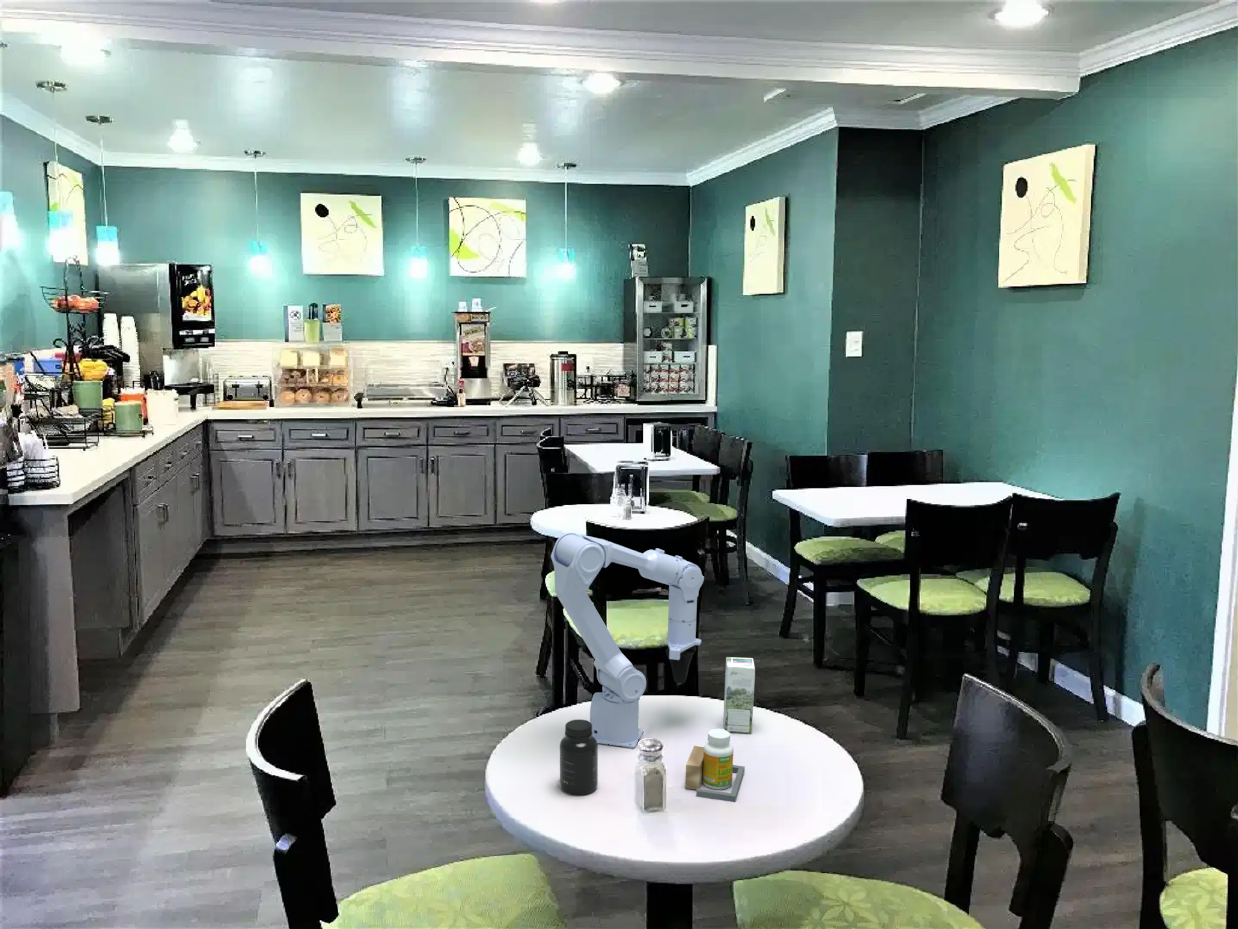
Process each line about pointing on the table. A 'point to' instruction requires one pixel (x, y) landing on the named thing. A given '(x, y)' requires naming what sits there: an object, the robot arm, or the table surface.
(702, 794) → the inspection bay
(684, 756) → the table surface
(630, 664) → the robot arm
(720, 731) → the supplement bottle
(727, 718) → the syrup box
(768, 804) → the table surface
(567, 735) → the supplement bottle
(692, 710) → the table surface
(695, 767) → the bar
